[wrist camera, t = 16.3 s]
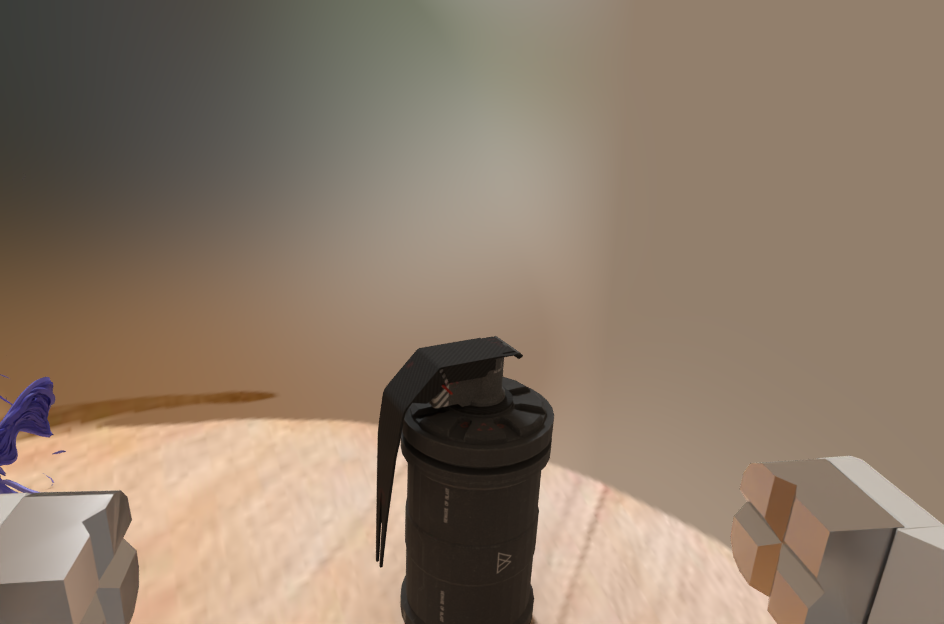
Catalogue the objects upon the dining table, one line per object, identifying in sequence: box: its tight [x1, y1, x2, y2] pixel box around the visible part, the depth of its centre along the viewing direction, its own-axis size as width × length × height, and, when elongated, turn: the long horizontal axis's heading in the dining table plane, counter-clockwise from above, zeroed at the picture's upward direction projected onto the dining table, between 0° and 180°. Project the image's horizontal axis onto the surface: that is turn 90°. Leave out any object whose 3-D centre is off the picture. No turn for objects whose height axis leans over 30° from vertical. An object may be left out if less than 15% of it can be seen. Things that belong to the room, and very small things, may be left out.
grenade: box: [376, 336, 554, 624], centre depth 43 cm, size 9×11×20 cm
